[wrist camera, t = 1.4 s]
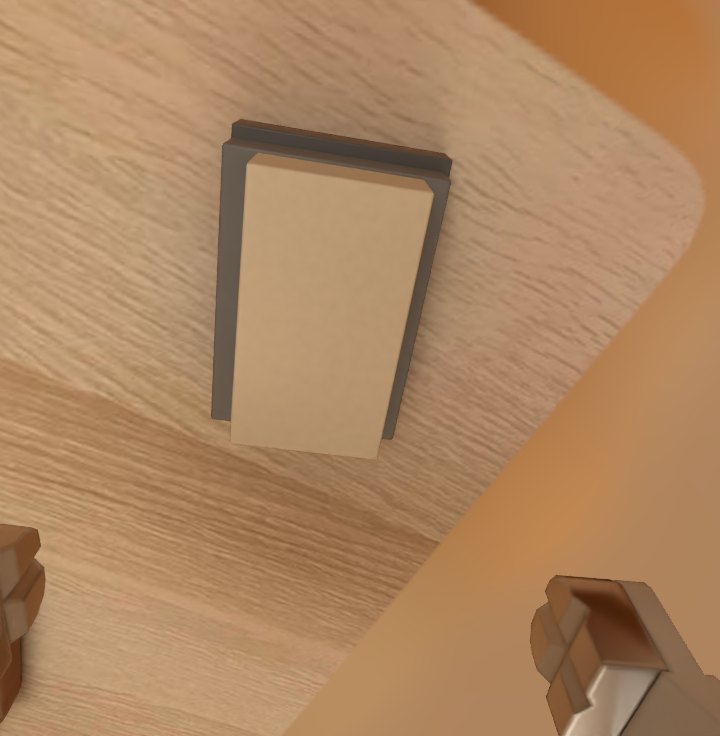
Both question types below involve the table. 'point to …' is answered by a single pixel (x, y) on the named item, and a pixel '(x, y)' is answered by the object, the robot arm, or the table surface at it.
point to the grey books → (326, 150)
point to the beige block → (322, 303)
